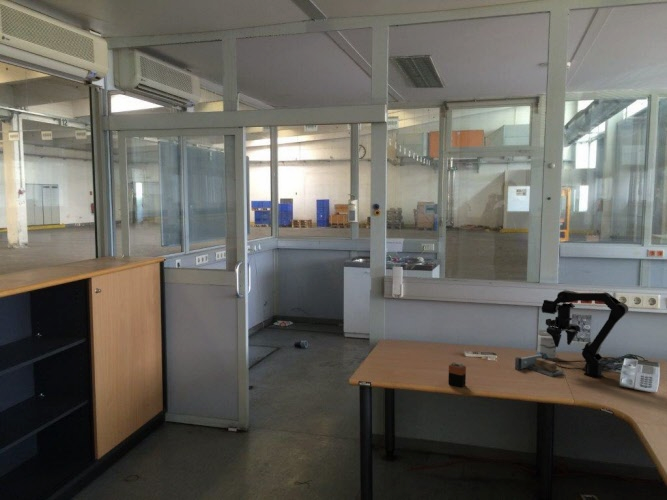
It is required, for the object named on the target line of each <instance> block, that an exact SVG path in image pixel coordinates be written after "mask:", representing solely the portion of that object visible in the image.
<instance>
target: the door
mask: <svg viewBox="0 0 667 500" xmlns="http://www.w3.org/2000/svg"><path fill="white" fill-rule="evenodd" d="M520 358H521V370H522V369H528V365H533V364H535V359H536V358H542V355H541V354H539V355H537V354H535V355H529V356H524V357H520Z"/></svg>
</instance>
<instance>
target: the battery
mask: <svg viewBox="0 0 667 500" xmlns="http://www.w3.org/2000/svg"><path fill="white" fill-rule="evenodd" d="M466 371H467V366H466V365H463V364H460V363H459V364H458V363H457V362H451V363H450V364H449V365H448V380H447V381H448V385H451V386H454V387H458V388H463V387H464V386H466V379H467V377H466V376H467V372H466Z"/></svg>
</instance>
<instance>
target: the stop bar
mask: <svg viewBox="0 0 667 500" xmlns="http://www.w3.org/2000/svg"><path fill="white" fill-rule="evenodd" d="M535 367H537V368H540V369H543V370H546V371H549V372H556V369H558V368H557V367H558V366H557V362H555V361H552V360H548V359H546V360H545V359H542V358H536V359H535Z"/></svg>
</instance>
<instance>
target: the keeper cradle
mask: <svg viewBox="0 0 667 500" xmlns="http://www.w3.org/2000/svg"><path fill="white" fill-rule="evenodd" d="M527 369H529V370H530V371H534V372H537V373H540V374H542V375H546V376H548V377H552V378H554V377H558V376H562V375H564V370H561V369H558V368H557V369H556V372H549V371H546V370H543V369H540V368H537V367H535V364H533V365H528V367H527Z"/></svg>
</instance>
